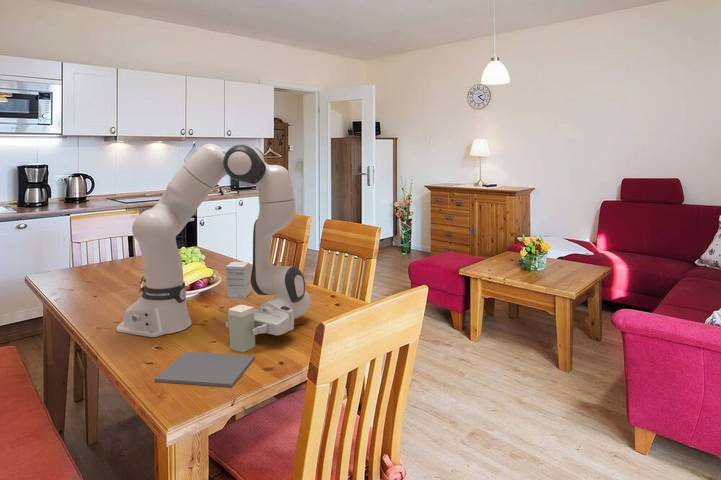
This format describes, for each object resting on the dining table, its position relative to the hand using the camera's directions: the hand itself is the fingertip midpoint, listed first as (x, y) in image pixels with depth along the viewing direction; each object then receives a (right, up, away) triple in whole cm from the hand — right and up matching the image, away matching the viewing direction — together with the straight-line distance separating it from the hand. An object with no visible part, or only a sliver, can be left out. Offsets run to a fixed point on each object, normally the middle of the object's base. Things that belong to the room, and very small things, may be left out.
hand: (239, 328), depth 135 cm
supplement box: (-13, +4, +51) cm, 53 cm away
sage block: (0, -6, +2) cm, 6 cm away
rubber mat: (-5, -8, -12) cm, 15 cm away
